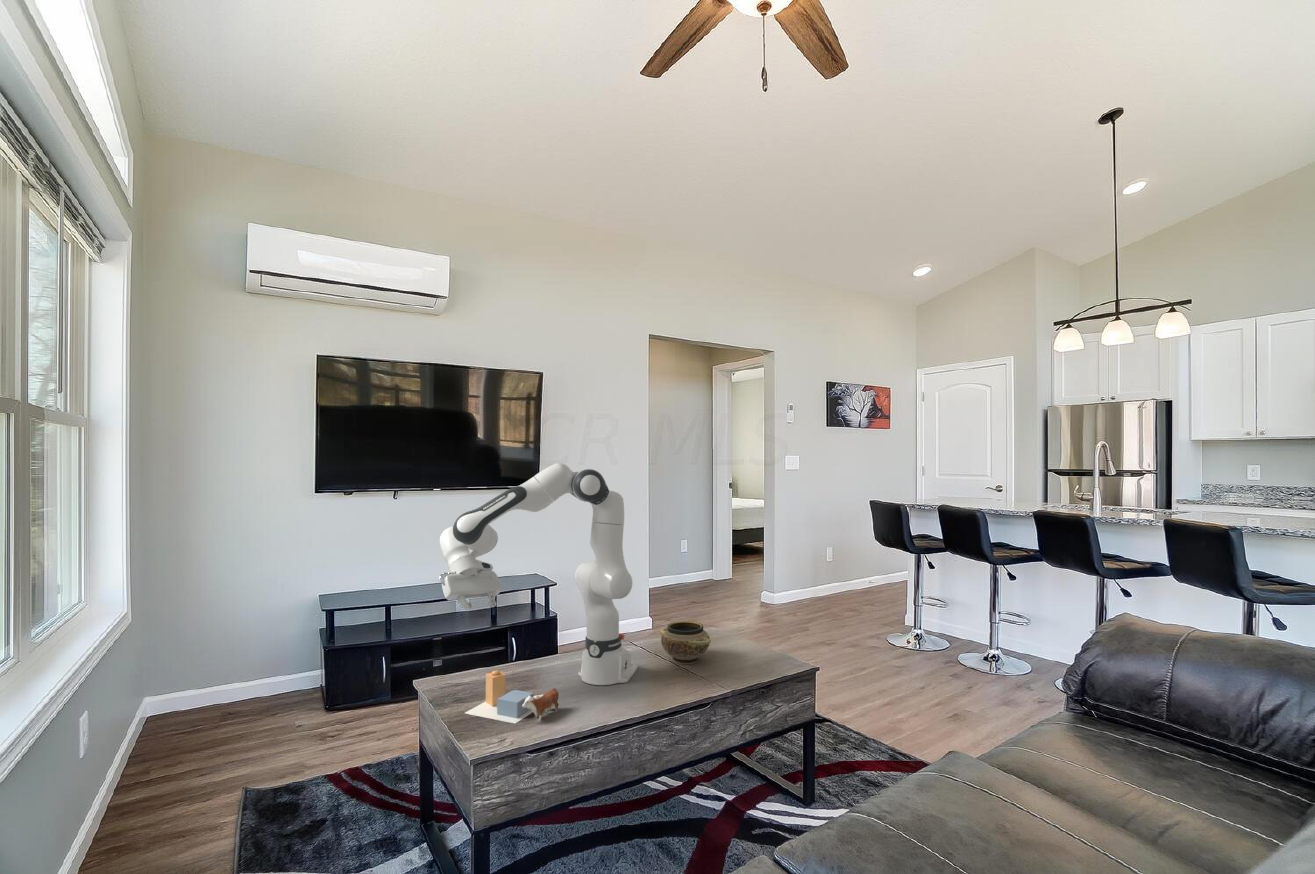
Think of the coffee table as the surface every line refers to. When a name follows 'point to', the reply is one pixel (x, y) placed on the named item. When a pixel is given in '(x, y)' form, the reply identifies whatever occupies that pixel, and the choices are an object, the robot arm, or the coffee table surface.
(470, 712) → the baseplate
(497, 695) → the tall brick
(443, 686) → the coffee table surface
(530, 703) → the bull figurine
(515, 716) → the base block
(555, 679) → the coffee table surface
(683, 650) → the ceramic bowl
